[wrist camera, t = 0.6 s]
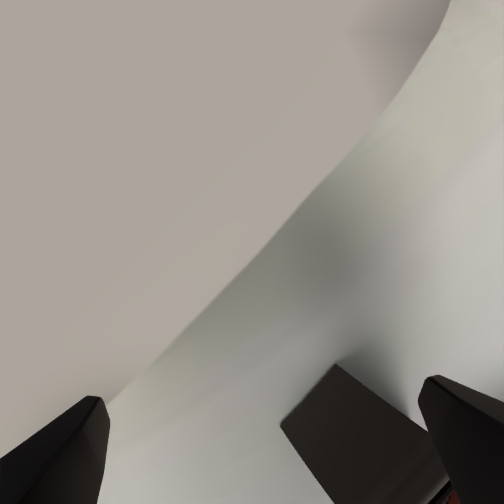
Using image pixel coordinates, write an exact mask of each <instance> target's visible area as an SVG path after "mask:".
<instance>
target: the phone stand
mask: <svg viewBox="0 0 504 504" xmlns="http://www.w3.org/2000/svg"><path fill="white" fill-rule="evenodd" d="M280 427H281V429H282V430H283V432H284V433H285V435H286V436H287V438H288V439H289V441H290V442H291V444H292V445H293V447H294V448H295V449H296V451H297V452H298V454H299V455H300V457H301V458H302V460H303V461H304V462H305V464H306V465H307V467H308V468H309V470H310V471H311V472H312V474H313V475H314V477H315V478H316V479H317V481H318V482H319V483H320V485H321V486H322V488H323V489H324V490H325V492H326V493H327V494H328V496H329V497H330V498H331V500H332V501H333V502H334V504H443V503H444V502H445V501H446V500H447V499H448V498H449V496H450V495H451V494H452V493H453V492H454V491H455V490H454V488H453V486H452V483H451V481H450V479H449V477H448V475H447V472H446V470H445V468H444V466H443V464H442V462H441V460H440V458H439V456H438V453H437V451H436V449H435V447H434V445H433V443H432V440H431V437H430V435H429V432H427V431H426V430H425V429H423V428H422V427H420V426H419V425H418V424H416V423H415V422H413V421H412V420H411V419H409V418H408V417H406V416H405V415H404V414H402V413H401V412H400V411H398V410H397V409H395V408H394V407H393V406H391V405H390V404H389V403H387V402H386V401H384V400H383V399H382V398H380V397H379V396H378V395H376V394H375V393H374V392H372V391H371V390H370V389H368V388H367V387H366V386H364V385H363V384H362V383H360V382H359V381H358V380H356V379H355V378H354V377H352V376H351V375H350V374H348V373H347V372H346V371H344V370H343V369H342V368H341V367H339V366H338V365H337V364H335V365H334V367H333V368H332V369H331V370H330V371H329V372H328V374H327V375H326V376H325V377H324V378H323V379H322V381H321V382H320V383H319V384H318V385H317V386H316V387H315V389H314V390H313V391H312V392H311V393H310V394H309V395H308V396H307V398H306V399H305V400H304V401H303V402H302V403H301V404H300V405H299V406H298V407H297V408H296V409H295V411H294V412H293V413H292V414H291V415H290V416H289V417H288V418H287V419H286V420H285V421H284V422H283V423H282V424H281V425H280Z"/></svg>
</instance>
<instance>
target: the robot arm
mask: <svg viewBox="0 0 504 504" xmlns="http://www.w3.org/2000/svg"><path fill="white" fill-rule="evenodd" d="M418 405H419V408H420V410H421V413H422V416H423V418H424V421H425V424H426V426H427V429H428V432H429V435H430V437H431V440H432V443H433V445H434V447H435V449H436V451H437V453H438V456H439V458H440V460H441V462H442V464H443V466H444V468H445V470H446V472H447V475H448V477H449V479H450V481H451V483H452V486H453V488H454V490H455V492H456V495H457V497H458V499H459V501H460V504H504V402H502V401H500V400H497V399H495V398H492V397H490V396H488V395H485V394H483V393H480V392H478V391H476V390H473V389H471V388H469V387H466V386H464V385H462V384H459V383H457V382H455V381H452V380H450V379H448V378H446V377H443V376H441V375H433V376H429V377H427V378H426V379H425V381H424V384H423V387H422V389H421V392H420V394H419V397H418ZM109 431H110V418H109V415H108V413H107V410H106V407H105V404H104V401H103V399H102V398H101V397H96V396H86V397H84V398H83V399H82V400H80V401H79V402H78V403H76V404H75V405H73V406H72V407H71V408H69V409H68V410H67V411H65V412H64V413H63V414H61V415H60V416H59V417H57V418H56V419H54V420H53V421H52V422H50V423H49V424H48V425H46V426H45V427H43V428H42V429H41V430H39V431H38V432H37V433H35V434H34V435H32V436H31V437H30V438H28V439H27V440H25V441H24V442H23V443H21V444H20V445H19V446H17V447H16V448H14V449H13V450H12V451H10V452H9V453H7V454H6V455H5V456H3V457H2V458H0V504H97V500H98V496H99V492H100V487H101V483H102V479H103V474H104V468H105V461H106V453H107V445H108V438H109Z"/></svg>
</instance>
